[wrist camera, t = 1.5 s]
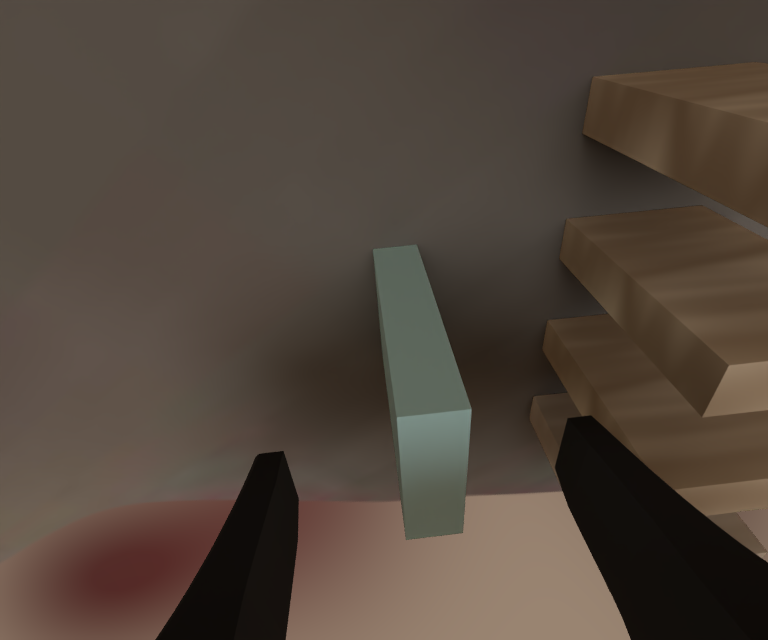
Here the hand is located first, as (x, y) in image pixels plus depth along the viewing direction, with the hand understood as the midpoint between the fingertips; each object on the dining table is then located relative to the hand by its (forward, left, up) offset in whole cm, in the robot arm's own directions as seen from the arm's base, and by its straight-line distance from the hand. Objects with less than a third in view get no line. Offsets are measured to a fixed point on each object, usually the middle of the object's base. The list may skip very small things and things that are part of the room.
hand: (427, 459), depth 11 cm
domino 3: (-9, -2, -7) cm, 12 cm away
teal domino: (0, 0, -7) cm, 7 cm away
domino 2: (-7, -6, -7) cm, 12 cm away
